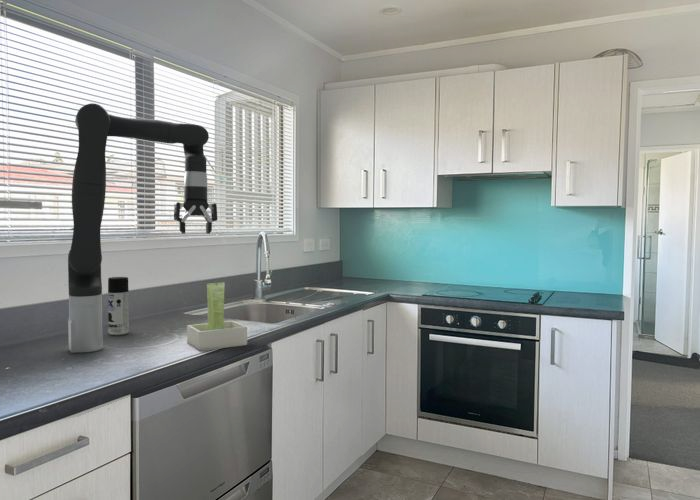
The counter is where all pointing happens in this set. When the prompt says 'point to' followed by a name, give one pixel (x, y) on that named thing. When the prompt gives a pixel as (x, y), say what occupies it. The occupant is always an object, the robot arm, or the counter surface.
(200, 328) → the box
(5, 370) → the counter surface
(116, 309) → the spray can
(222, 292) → the tube
